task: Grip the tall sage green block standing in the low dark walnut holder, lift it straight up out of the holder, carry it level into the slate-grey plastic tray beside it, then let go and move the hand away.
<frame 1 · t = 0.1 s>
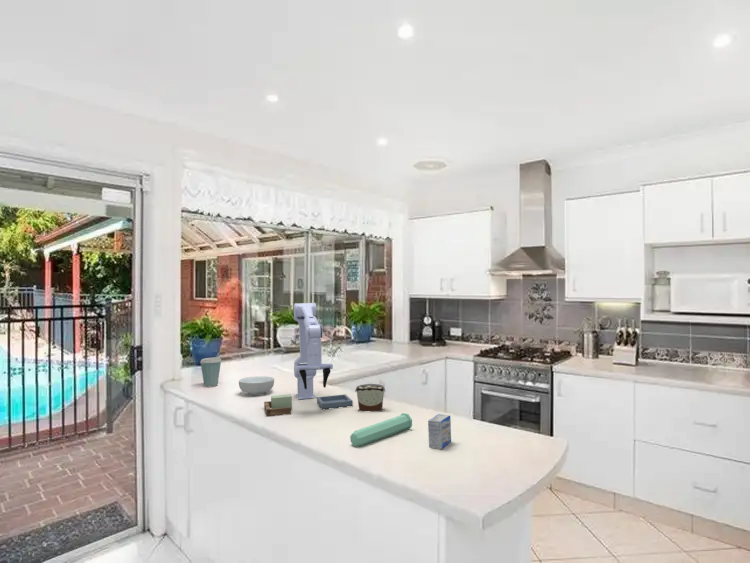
hand: (315, 387, 180), 10 cm above the worktop, tool pointing down, fingers open, 7 cm apart
tray: (334, 404, 192), on the worktop
medicine box: (440, 445, 141), on the worktop
food container: (371, 410, 183), on the worktop
holder: (281, 410, 185), on the worktop
tall sage green block: (281, 403, 185), in the holder
container: (381, 438, 150), on the worktop
cereal bowl: (257, 393, 216), on the worktop
disposable coffee cup: (211, 386, 236), on the worktop
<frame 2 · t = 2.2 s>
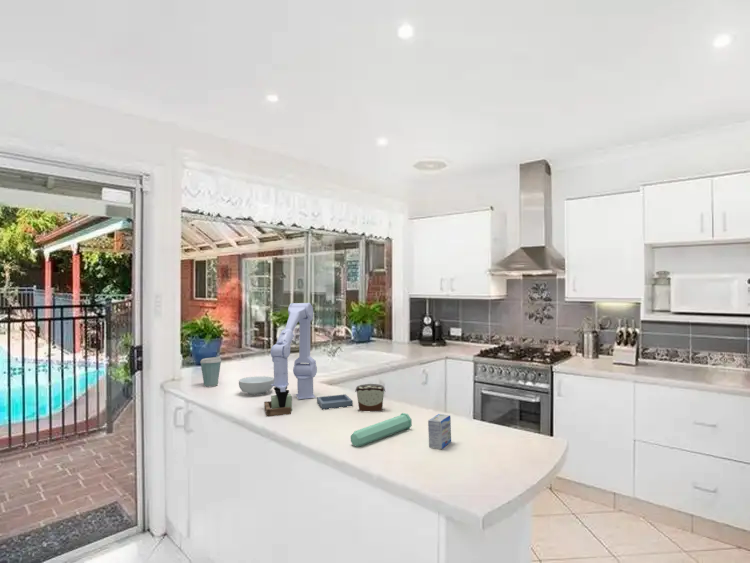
hand: (281, 405, 185), 2 cm above the worktop, tool pointing down, fingers closed on tall sage green block, 4 cm apart
tall sage green block: (281, 403, 185), in the holder, touching gripper
everything else where it was.
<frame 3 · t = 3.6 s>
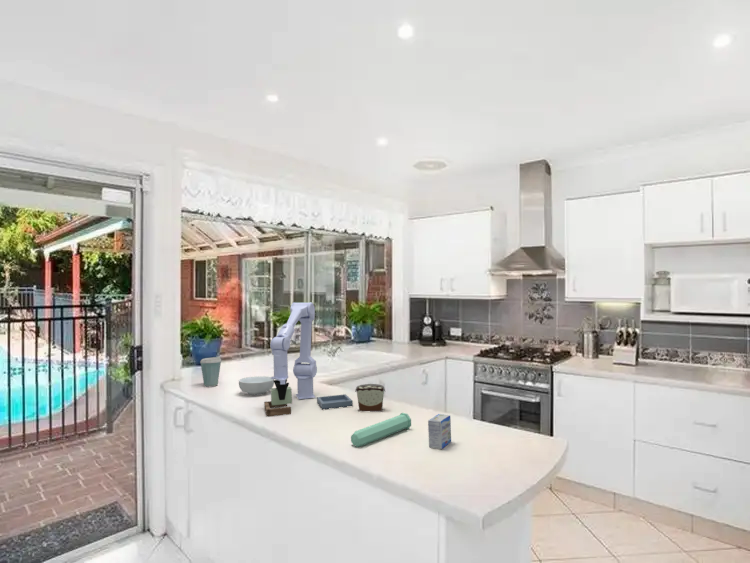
hand: (281, 398, 185), 5 cm above the worktop, tool pointing down, fingers closed on tall sage green block, 4 cm apart
tall sage green block: (281, 395, 185), point 6 cm above the worktop, touching gripper
everything else where it was.
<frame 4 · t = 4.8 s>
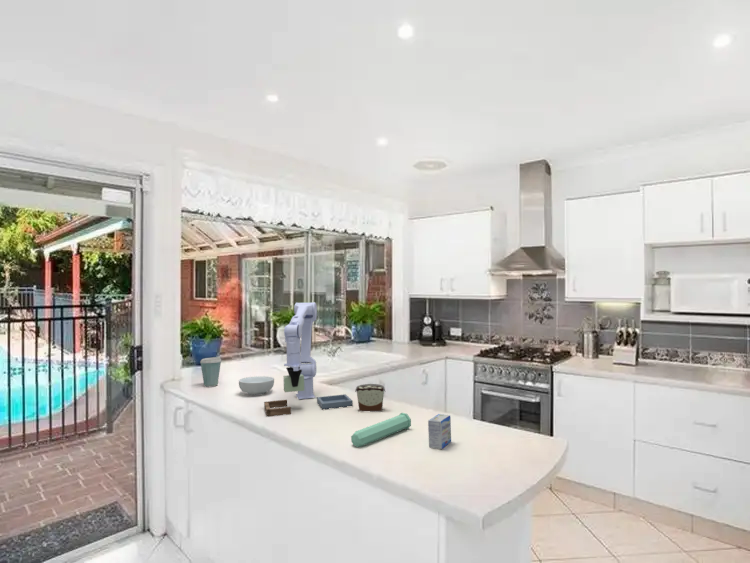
hand: (294, 385, 187), 10 cm above the worktop, tool pointing down, fingers closed on tall sage green block, 4 cm apart
tall sage green block: (293, 383, 187), point 11 cm above the worktop, touching gripper
everything else where it was.
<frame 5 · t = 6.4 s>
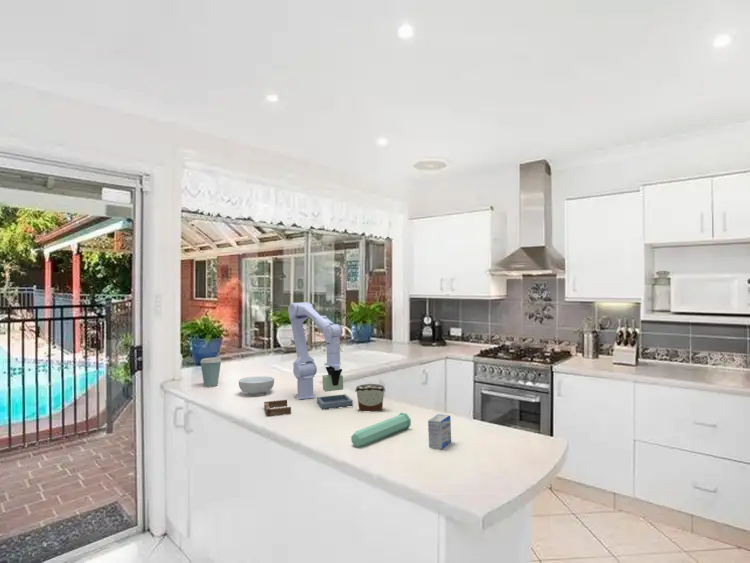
hand: (334, 384, 192), 9 cm above the worktop, tool pointing down, fingers closed on tall sage green block, 4 cm apart
tall sage green block: (332, 382, 192), point 10 cm above the worktop, touching gripper
everything else where it was.
when the fingers open (4 cm above the worktop, at t = 7.6 s): tall sage green block drops 1 cm, resting on tray.
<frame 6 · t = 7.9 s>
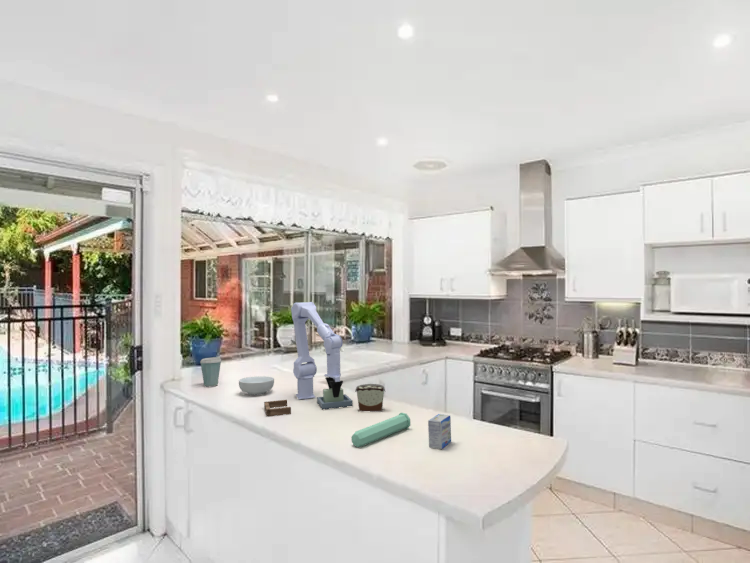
hand: (334, 395, 192), 4 cm above the worktop, tool pointing down, fingers open, 7 cm apart
tall sage green block: (333, 396, 192), in the tray, point 4 cm above the worktop
everything else where it was.
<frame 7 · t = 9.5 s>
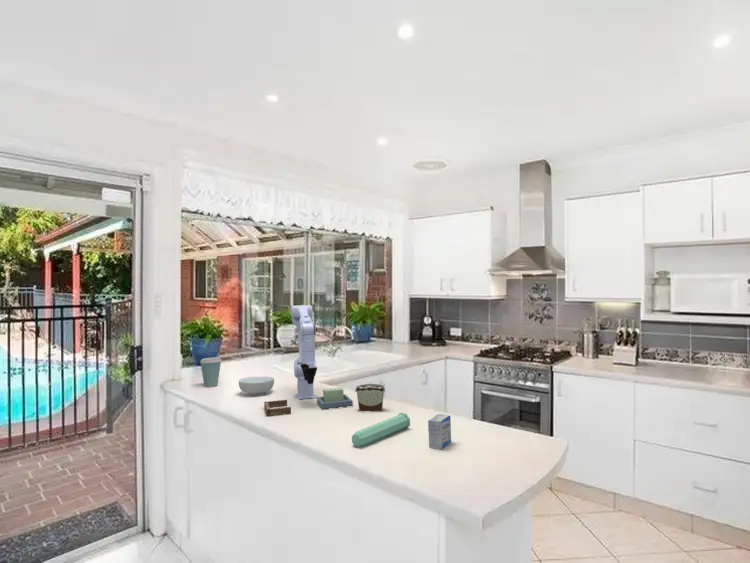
hand: (308, 382, 193), 10 cm above the worktop, tool pointing down, fingers open, 7 cm apart
nothing on the worktop moved.
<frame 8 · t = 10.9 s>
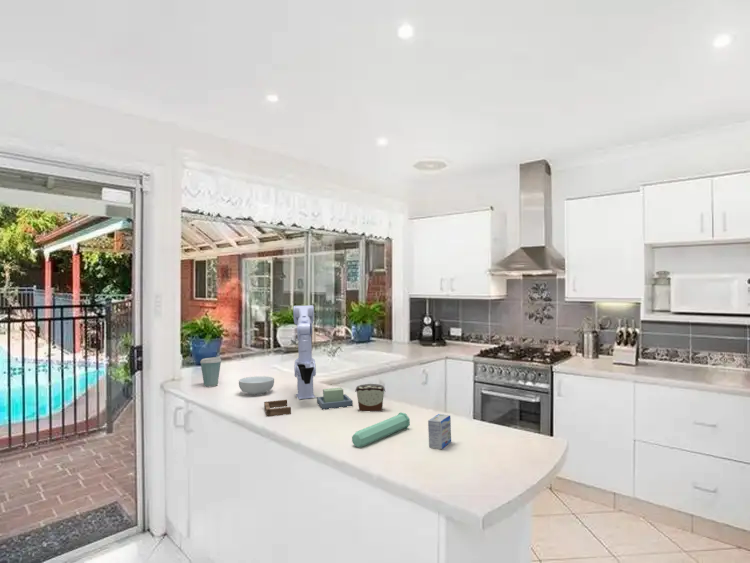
hand: (305, 382, 193), 10 cm above the worktop, tool pointing down, fingers open, 7 cm apart
nothing on the worktop moved.
at the end: tall sage green block inside the target area on the tray (0.5 cm from its centre), point 3.6 cm above the tray's base; tall sage green block tilted 0°; the gripper is holding nothing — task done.
